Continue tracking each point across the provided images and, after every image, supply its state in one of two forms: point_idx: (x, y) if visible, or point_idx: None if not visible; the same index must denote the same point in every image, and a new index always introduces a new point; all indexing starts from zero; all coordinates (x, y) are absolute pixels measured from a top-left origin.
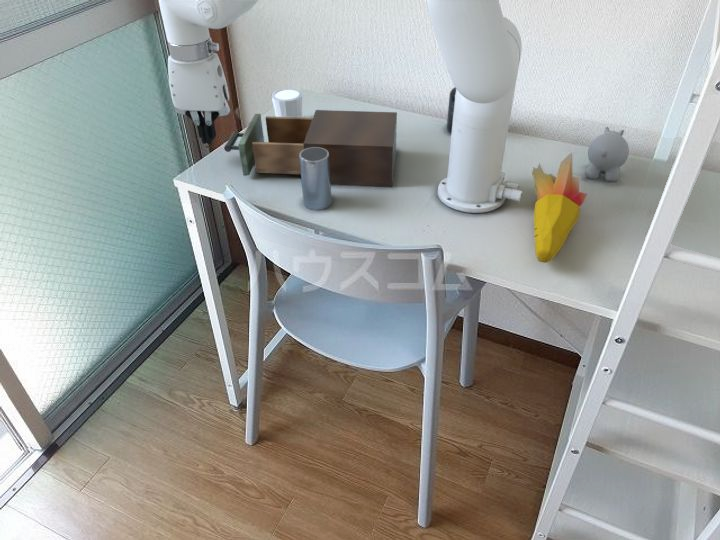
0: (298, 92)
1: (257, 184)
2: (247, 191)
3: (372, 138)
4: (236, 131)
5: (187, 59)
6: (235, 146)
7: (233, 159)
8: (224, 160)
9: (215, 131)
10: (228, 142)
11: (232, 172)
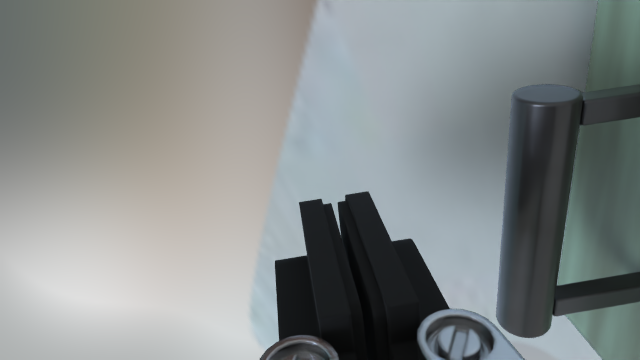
0: None
1: None
2: (570, 355)
3: None
4: (573, 113)
5: None
6: (584, 303)
7: (438, 121)
8: (386, 144)
9: (420, 256)
10: (538, 299)
11: (470, 247)
